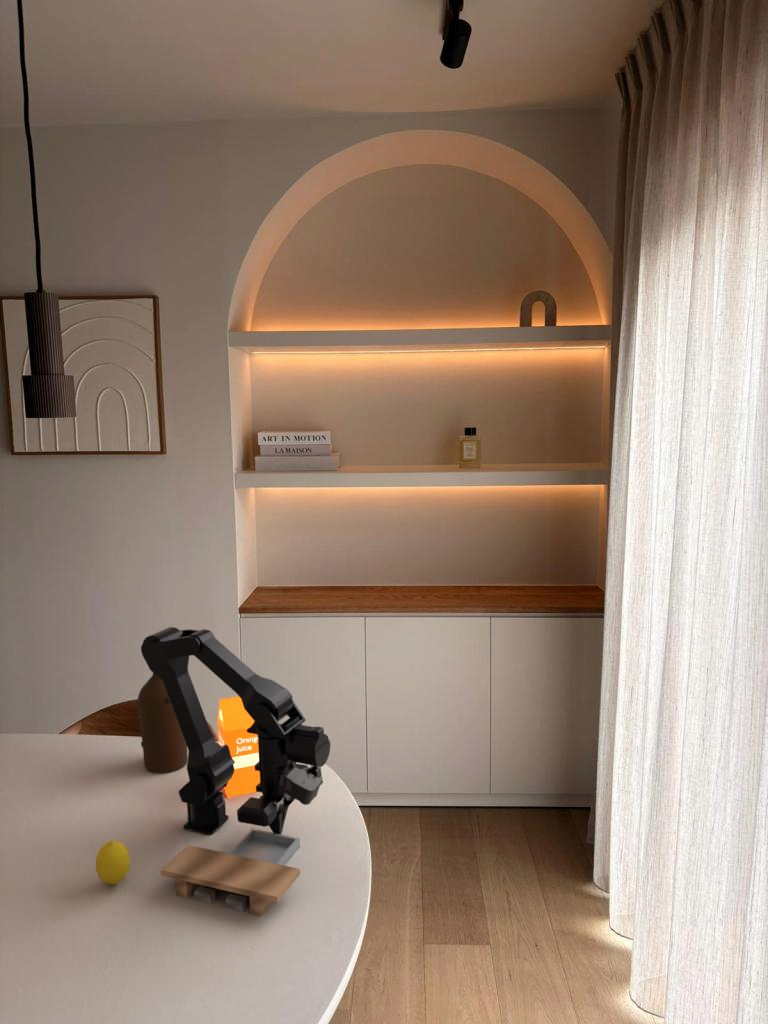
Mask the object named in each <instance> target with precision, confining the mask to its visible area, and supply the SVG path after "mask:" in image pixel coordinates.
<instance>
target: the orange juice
mask: <svg viewBox="0 0 768 1024" xmlns="http://www.w3.org/2000/svg"><path fill="white" fill-rule="evenodd" d="M217 710H218V712H217V718H216V719H217V737H218V741H217V743H218V744H219V745H221V746H223V745H225V744H227V745H228V747H229V750H230V754H231V757H232V759H233V760H234V761H235V763H234V764H233V765H234V773H233V776H232V778H231V779H230V780H229V781H228V784H227V786H226V787H224V788H223V790H225V791H224V792H225V795H226V797H227V798H228V797H229V798H232V797H233V796H234V797H238V796H237V795H239V796H243V795H242V794H244V795H247V794H252V793H253V794H254V793H256V786H257V785H258V784H259V783H260V773H259V771H255V764H257V763H258V762H259V753H258V735H257V734H252V733H248V732H247V729H248V728H249V727H251V726H252V724H253V723H254V720H253V719H252V718H251V716H250V715H249V714H248V713H247V712H246V710H245V709H244V706H243V703H242V700H241V698H240V697H239V696H238V695H237V696H232V697H227V698H220V699H219V704H218V709H217ZM234 797H233V798H234Z"/></svg>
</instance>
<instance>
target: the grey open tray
mask: <svg viewBox="0 0 768 1024" xmlns="http://www.w3.org/2000/svg"><path fill="white" fill-rule="evenodd" d="M300 841H301V840H300V838H299V837H294V836H291V835H285V834H276V833H273V832H271V831H265V830H261V829H256V828H251V829H250V830H249V831H248V832H247V833H246V834H245V835H244V836H243V837H242V838H241V839H239V841H238V842H237V843H236V844H235V845H233V847H232V848H231V849H230V850H229V851H228V852H227V853H229V854H233V855H238V856H243V857H247V858H252V859H256V860H261V861H266V862H270V863H275V864H279V865H284V866H286V865H287V863H288V862H289V861H290V860H291V859H292V857H293V856H294V855H295V854H296V853H297V852H298V850H300V848H301V847H300V846H301V842H300ZM295 852H296V853H295ZM290 858H291V859H290ZM289 859H290V860H289Z"/></svg>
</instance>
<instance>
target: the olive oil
mask: <svg viewBox="0 0 768 1024" xmlns="http://www.w3.org/2000/svg"><path fill="white" fill-rule="evenodd" d="M137 709H138V717H139V725H140V733H141V735H140V736H141V741H140V744H141V745H140V746H141V749H142V752H143V763H144V768H145V770H146V771H148V772H150V773H153V774H169V773H173V772H176V771H178V770H180V769H182V768H184V767H185V766H187V762H188V747H187V744H186V742H185V739H184V736H183V734H182V731H181V728H180V726H179V723H178V720H177V718H176V715H175V712H174V709H173V707H172V704H171V701H170V699H169V696H168V693H167V691H166V688H165V685H164V683H163V681H162V679H160V678H159V677H158V676H157V675H156V674H154V673H153V672H152V675H151V676H150V677H149V678H148V680H147V682H145V684H144V685H143V686H141V688H140V691H139V693H138V697H137Z"/></svg>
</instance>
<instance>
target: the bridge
mask: <svg viewBox="0 0 768 1024" xmlns="http://www.w3.org/2000/svg"><path fill="white" fill-rule="evenodd" d="M300 875H301V869H300V868H297V867H293V866H287V865H279V864H275V863H270V862H266V861H261V860H256V859H252V858H247V857H243V856H238V855H233V854H229V853H228V852H223V851H219V850H214V849H209V848H205V847H200V846H195V845H191V844H187V845H186V846H185V847H184V848H183V849H181V850H180V851H179V852H178V853H177V854H176V855H175V856H174V857H173V858H172V859H171V860H170V861H169V862H168V863H167V864H166V865H164V866H163V867H162V868H161V869H160V876H162V877H166V878H170V879H175V883H176V884H175V885H176V896H177V897H183V898H187V899H188V898H189V896H191V895H192V894H193V893H194V900H195V901H200V902H203V903H207V904H212V902H214V901H215V900H216V890H215V889H217V890H221V891H226V892H230V893H229V895H228V896H227V897H226V898H225V908H227V909H232V910H236V911H240V912H244V910H245V909H246V908H247V906H248V898H247V897H249V911H250V914H251V915H255V916H260V917H262V916H263V914H264V913H266V911H267V910H268V908H269V907H270V906H271V905H272V904H273V903H278V902H280V900H281V899H282V898H283V897H284V896H285V894H286V892H287V891H288V890H289V889H290V888H291V887H292V885H293V883H295V881H296V880H297V879H298V878H299V877H300ZM233 893H235V894H233ZM246 896H247V897H246Z"/></svg>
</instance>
